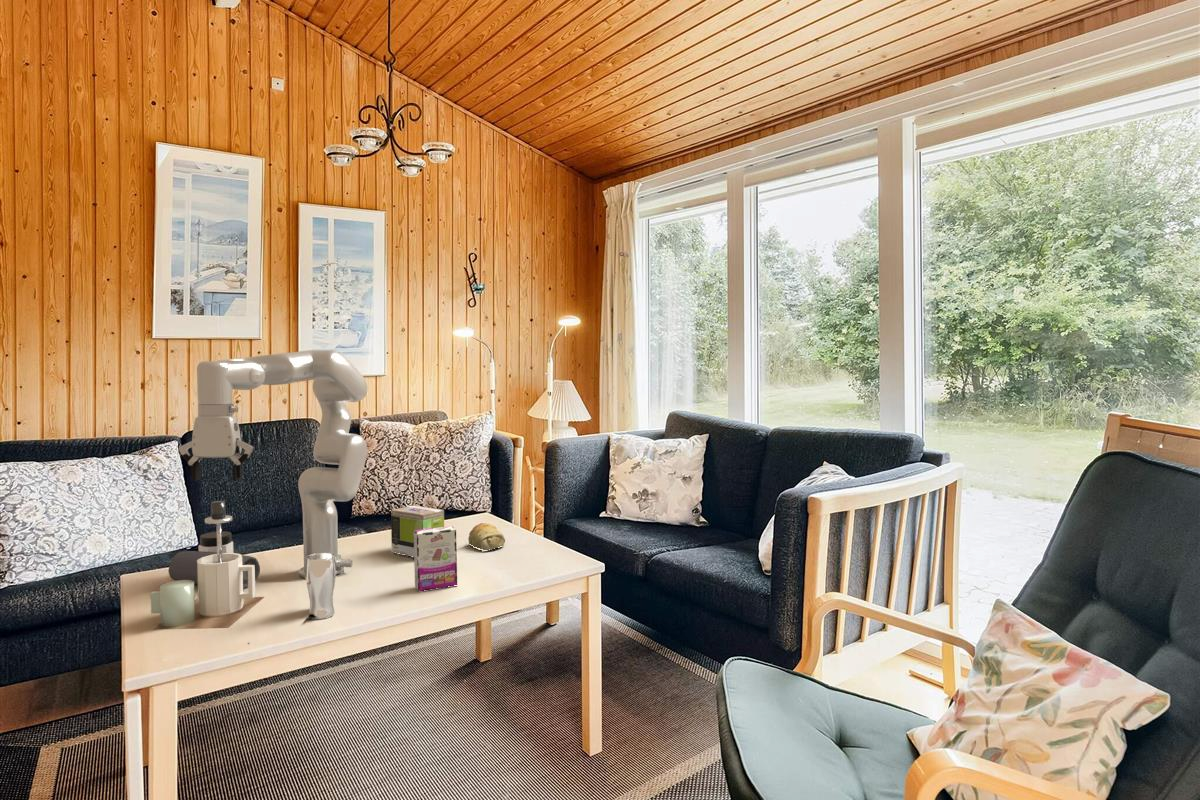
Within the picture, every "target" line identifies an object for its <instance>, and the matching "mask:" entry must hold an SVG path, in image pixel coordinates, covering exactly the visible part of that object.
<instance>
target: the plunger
mask: <svg viewBox="0 0 1200 800" xmlns="http://www.w3.org/2000/svg"><path fill="white" fill-rule="evenodd" d="M210 504H211V505H210V506H211V507H210V509H211V516H208V517H206V518H204V523H205V524H207V525H216V532H217V559H218V562H214V563H223V562H228V561H222V538H221V531H222V524H226V523H230V522H232V521H233V516H232V515H227V514H226V501H225V500H215V501H212V502H210Z"/></svg>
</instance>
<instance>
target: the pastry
mask: <svg viewBox="0 0 1200 800" xmlns="http://www.w3.org/2000/svg"><path fill="white" fill-rule="evenodd" d="M468 535H469V536H468V538H467V539H468V544H471V545H473V546H474V547H477V548H480V549H483V550H489V549H494V548H498V547H500V546H503V547H504V545H505V543H506V539H505V536H504V534H503V533H502V532H501V531H500V530H499V529H498V528H497V527H496V525H493V524H491V523H484V522H482V523H478V524H477V525H475V526H474V527H473V528H472V529H471V530H470V532H469V533H468ZM498 549H499V548H498Z"/></svg>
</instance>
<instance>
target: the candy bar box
mask: <svg viewBox="0 0 1200 800" xmlns="http://www.w3.org/2000/svg"><path fill="white" fill-rule="evenodd" d="M457 547H458V545H457V529H456V528H455V527H454V526H453V525H451V526H449V525H448V526H444V527H439V528H431V529H423V530H415V531H414V559H413V560H414V561H413V562H414V563H413V564H414V565H413V566H414V587H416V588H417V589H416V588H415V589H416V591H417V592H418V591H422V592H425V591H424V590H429V591H431V590H430V589H435V590H437V589H436V588H441V589H444V588H443V587H448V586H454V585H457V586H458V559H457V552H458V551H457ZM454 587H455V586H454ZM448 588H449V587H448Z"/></svg>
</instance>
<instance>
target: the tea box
mask: <svg viewBox="0 0 1200 800" xmlns="http://www.w3.org/2000/svg"><path fill="white" fill-rule="evenodd" d="M390 514H391V515H390V517H391V518H390V525H391V526H390V528H391V531H390V532H391V535H390V536H391V538H390V539H391V540H390V541H391V553H392V552H396V553H400V554H405V555H410V556H413V557H414V531H415V530H423V529H431V528H439V527H445V510H444V509H440V508H433V507H429V506H428V507H426V506H421V505H420V506H419V505H408V506H403V507H399V508H394V509H391V510H390ZM413 557H412V558H413Z"/></svg>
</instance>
